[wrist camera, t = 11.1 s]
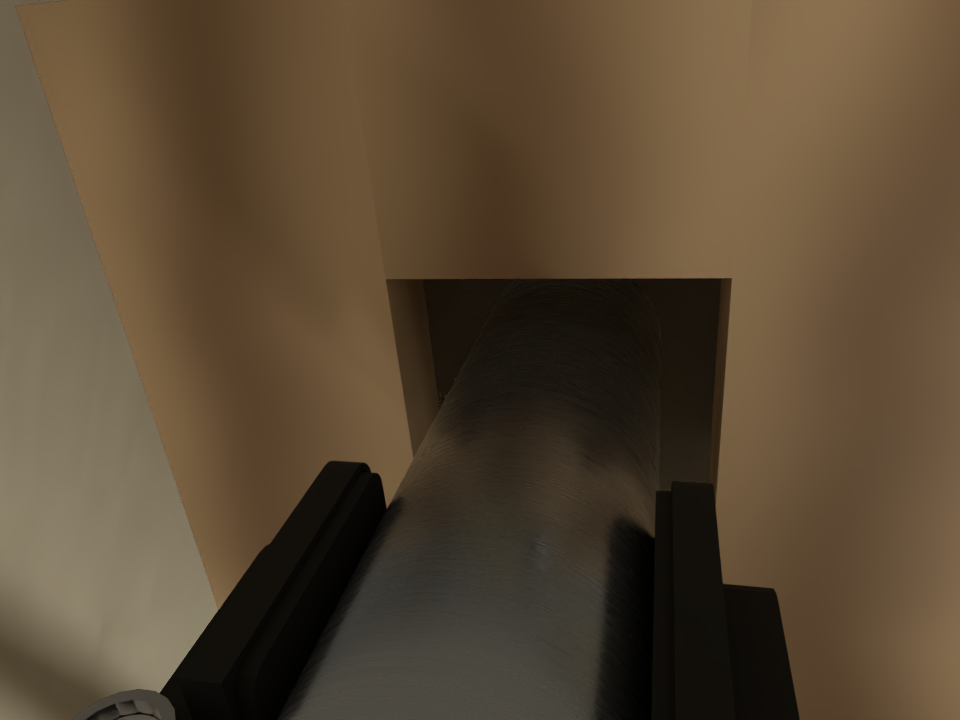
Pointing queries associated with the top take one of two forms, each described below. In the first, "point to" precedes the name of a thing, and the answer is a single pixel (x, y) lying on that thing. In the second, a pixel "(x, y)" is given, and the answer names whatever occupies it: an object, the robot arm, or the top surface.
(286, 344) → the bridge
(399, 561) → the long pin
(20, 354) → the top surface
